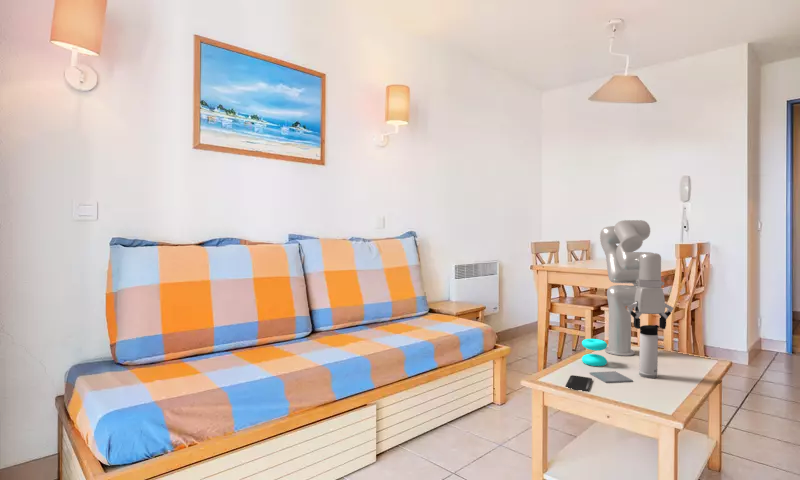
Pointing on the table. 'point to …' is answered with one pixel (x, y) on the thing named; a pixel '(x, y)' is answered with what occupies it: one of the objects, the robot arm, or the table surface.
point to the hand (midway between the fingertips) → (649, 328)
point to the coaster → (611, 377)
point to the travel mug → (648, 351)
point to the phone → (579, 383)
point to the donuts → (594, 358)
